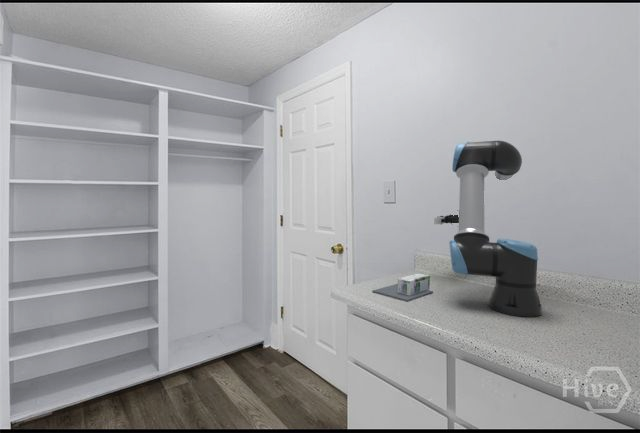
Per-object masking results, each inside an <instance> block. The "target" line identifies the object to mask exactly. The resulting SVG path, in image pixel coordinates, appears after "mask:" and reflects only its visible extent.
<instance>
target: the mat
mask: <svg viewBox="0 0 640 433" xmlns="http://www.w3.org/2000/svg"><path fill="white" fill-rule="evenodd" d="M397 291H398V283H395V284H392V285H388V286H385V287H381V288H377V289H373V290H372V293H375V294H377V295H378V294H379V295H381V296H385V297H388V298H389V297H390V298H391V299H392V298H393V299H397V300H400V301H403V302H405V303H406V302H411V301H413V300H416V299H420V298H422V297H426V296H428V295H430V294H433V293H434V291H433V290H430V289H429V290H425V291H422V292H419V293H416V294H413V295H410V296H409V295H405V294H401V293H398V292H397Z"/></svg>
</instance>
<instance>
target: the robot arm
mask: <svg viewBox="0 0 640 433" xmlns="http://www.w3.org/2000/svg"><path fill="white" fill-rule="evenodd" d="M454 148H455V149H454V153H453V159H452V172H454V173H455V175H456V177H457V178H459V199H458V200H459V201H458V202H459V203H458V207H459V208H458V211H459V217H458V215H454V216H453V215H451V214H449V215H445V216H444V215H440V216H437V217H434V218H433V220H434V221H433V224H434V225H443V224H452V223H459V226H458V232H457V233H456V234H454V235H453V239H452V240H449V241H448V242H449V243H448V244H449V253H450V261H451V269H452V271H453V272H454V273H456V274H461V275H466V276H467V275H471V276H485V277H493V278H494V277H495V285H494V288H493V291H492V292H491V296H490V297H489V300H488V302H489V303H488V304H489V307H490V308H491V309H492V310H494V311H496V312H500V313H501V314H502V313H503V314H505V315H511V316H516V317H517V316H518V317H523V318H524V317H527V318H528V317H529V318H530V317H538V316H541V315H542V312H543V307H542V306H543V305H542V303H541V300H540V297H539V294H538V291H537V279H538V277H537V274H538V273H537V272H538V261H539V257H538V248H537V246H536V245H534V244H532V243H529V242H525V241H520V240H514V239H509V238H497V240H496V242H491V241H490V237H489V234H488V235H487V234H486V233H485V205H484V190H485V178H486V177H487V176H488V175H489V172H494V174H495V176H496V178H497V179H499V180H507V179H509V178H511V177H512V176H513V175H514V174H515V175H516V174H517V173H518V172H519V171H520V169H521V167H522V163H523V160H522V159H523V158H522V155H521V153H520V151H519V150H518V148H517V147H516V146H514V145H513V144H512V143H509V142H507V141H503V140H489V141H488V140H487V141H476V142H475V141H472V142H471V141H467V142H460V143H458V144H457V145H456V146H455V147H454Z"/></svg>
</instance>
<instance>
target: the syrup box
mask: <svg viewBox="0 0 640 433" xmlns="http://www.w3.org/2000/svg"><path fill="white" fill-rule="evenodd" d="M397 284H398V291H397V292H398V293H401V294H405V295H409V296H410V295H413V294H416V293H419V292H422V291H425V290H430V289H431V275H427V274H422V273H415V274H412V275H406V276H403V277H399V278H397Z"/></svg>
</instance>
